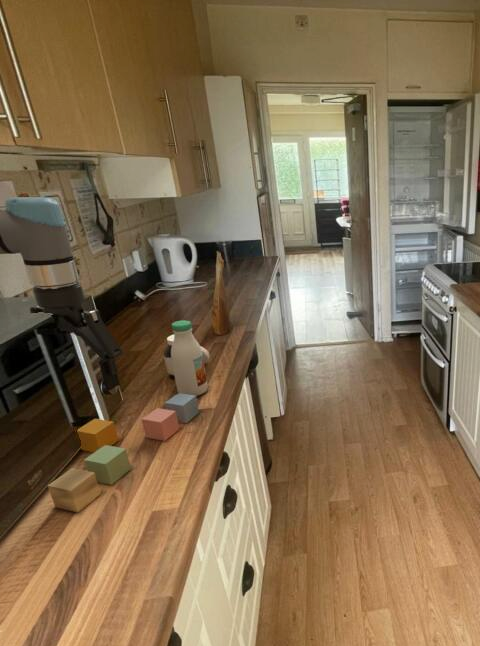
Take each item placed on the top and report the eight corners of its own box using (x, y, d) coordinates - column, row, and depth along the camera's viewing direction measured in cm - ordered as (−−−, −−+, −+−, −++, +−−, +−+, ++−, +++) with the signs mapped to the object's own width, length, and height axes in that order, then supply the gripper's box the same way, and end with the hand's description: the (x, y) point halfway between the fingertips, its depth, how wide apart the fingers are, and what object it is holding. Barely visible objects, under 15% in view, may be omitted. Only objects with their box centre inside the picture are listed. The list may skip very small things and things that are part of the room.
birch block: (55, 507, 77) (47, 485, 75) (79, 488, 82) (72, 467, 80) (78, 512, 76) (70, 490, 74) (101, 493, 81) (94, 472, 79)
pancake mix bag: (234, 319, 173) (225, 249, 162) (232, 336, 156) (222, 259, 145) (216, 320, 171) (206, 249, 160) (212, 337, 154) (201, 260, 143)
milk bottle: (190, 400, 113) (177, 330, 105) (171, 393, 117) (158, 324, 109) (214, 388, 119) (203, 321, 111) (195, 382, 123) (184, 316, 115)
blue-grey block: (168, 420, 104) (164, 402, 102) (181, 410, 109) (178, 392, 107) (186, 423, 103) (182, 405, 101) (199, 412, 108) (196, 395, 106)
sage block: (90, 480, 84) (83, 459, 82) (110, 464, 89) (105, 444, 87) (111, 484, 83) (105, 464, 81) (131, 468, 88) (125, 448, 86)
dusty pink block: (145, 437, 97) (141, 419, 95) (161, 425, 102) (157, 407, 100) (164, 441, 96) (160, 422, 94) (179, 429, 101) (175, 410, 99)
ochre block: (81, 450, 93) (75, 430, 91) (100, 437, 97) (94, 418, 95) (100, 453, 92) (94, 434, 90) (118, 440, 96) (113, 421, 94)
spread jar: (167, 381, 123) (159, 344, 118) (169, 365, 132) (162, 330, 128) (211, 375, 127) (206, 338, 122) (210, 360, 136) (205, 326, 132)
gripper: (128, 284, 82) (150, 382, 90) (22, 274, 87) (53, 369, 95) (95, 294, 75) (122, 399, 83) (-17, 283, 80) (19, 384, 88)
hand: (85, 383), depth 89 cm, fingers open, 13 cm apart
